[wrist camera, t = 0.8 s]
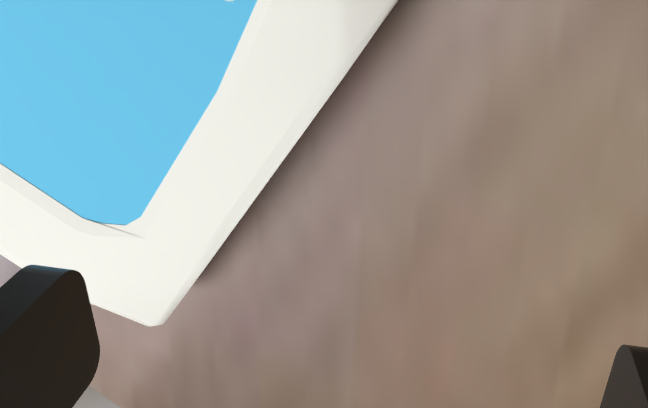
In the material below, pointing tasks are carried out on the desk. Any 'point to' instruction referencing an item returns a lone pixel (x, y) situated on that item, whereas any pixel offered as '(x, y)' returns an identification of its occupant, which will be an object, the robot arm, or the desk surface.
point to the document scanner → (155, 129)
